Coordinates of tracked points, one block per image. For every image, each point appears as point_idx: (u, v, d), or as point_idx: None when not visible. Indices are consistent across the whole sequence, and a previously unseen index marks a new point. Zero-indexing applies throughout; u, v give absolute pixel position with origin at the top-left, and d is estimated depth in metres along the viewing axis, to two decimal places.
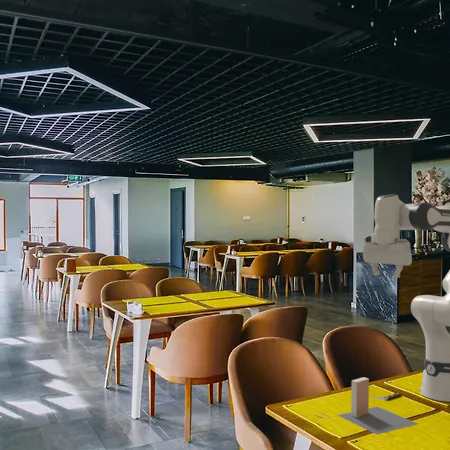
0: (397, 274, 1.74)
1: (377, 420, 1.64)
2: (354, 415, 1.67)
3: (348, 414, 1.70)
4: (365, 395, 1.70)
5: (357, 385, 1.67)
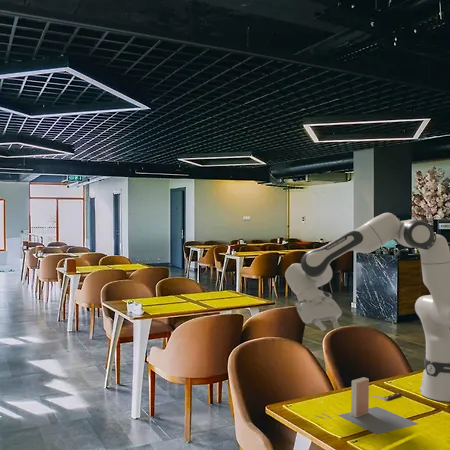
0: (321, 328, 1.82)
1: (377, 420, 1.64)
2: (354, 415, 1.67)
3: (348, 414, 1.70)
4: (365, 395, 1.70)
5: (357, 385, 1.67)
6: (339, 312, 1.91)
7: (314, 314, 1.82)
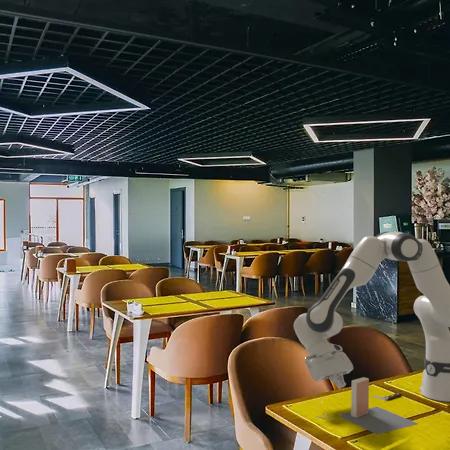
0: (337, 385, 1.76)
1: (377, 420, 1.64)
2: (354, 415, 1.67)
3: (348, 414, 1.70)
4: (365, 395, 1.70)
5: (357, 385, 1.67)
6: (350, 367, 1.83)
7: (324, 372, 1.74)
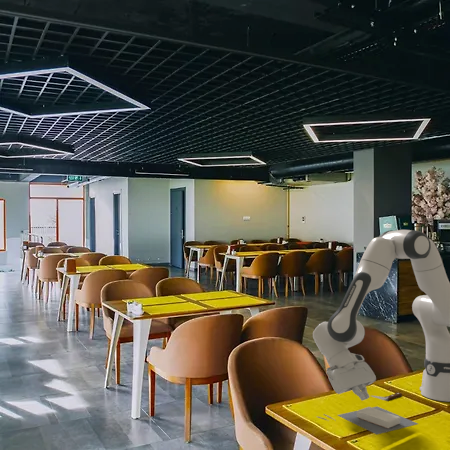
0: (360, 397, 1.68)
1: None
2: (358, 415, 1.66)
3: (348, 414, 1.70)
4: None
5: (385, 427, 1.58)
6: (373, 377, 1.75)
7: (347, 384, 1.66)
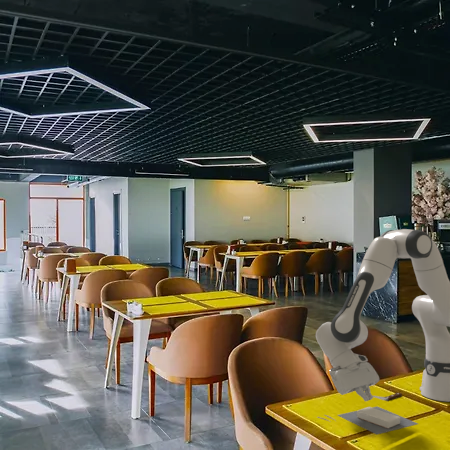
0: (364, 398, 1.67)
1: None
2: (358, 415, 1.66)
3: (348, 414, 1.70)
4: None
5: (385, 427, 1.58)
6: (376, 378, 1.74)
7: (350, 384, 1.65)
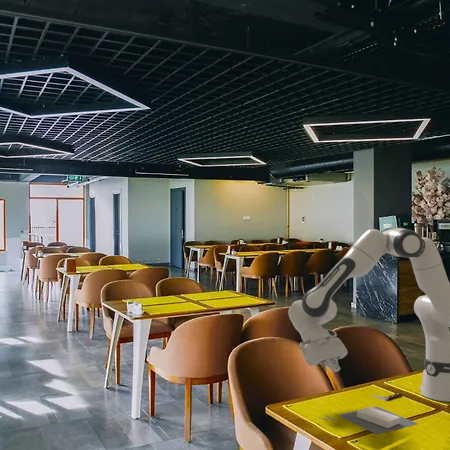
0: (332, 369, 1.78)
1: None
2: (358, 415, 1.66)
3: (348, 414, 1.70)
4: None
5: (385, 427, 1.58)
6: (345, 352, 1.85)
7: (319, 356, 1.76)
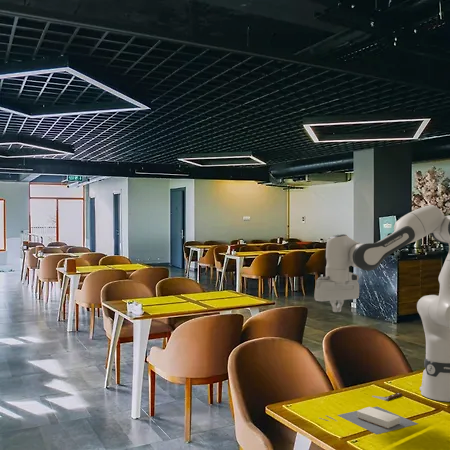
0: (333, 308, 1.91)
1: None
2: (358, 415, 1.66)
3: (348, 414, 1.70)
4: None
5: (385, 427, 1.58)
6: (355, 297, 1.94)
7: (327, 297, 1.86)
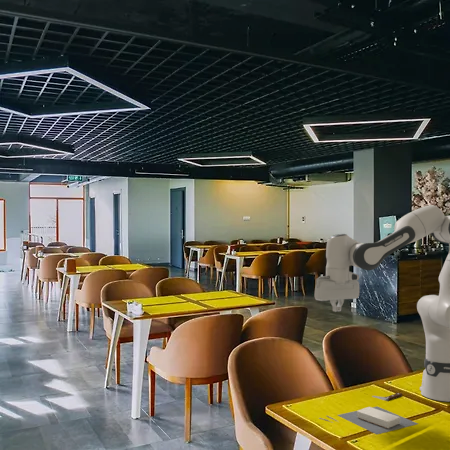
0: (333, 308, 1.91)
1: None
2: (358, 415, 1.66)
3: (348, 414, 1.70)
4: None
5: (385, 427, 1.58)
6: (355, 296, 1.94)
7: (327, 297, 1.87)
